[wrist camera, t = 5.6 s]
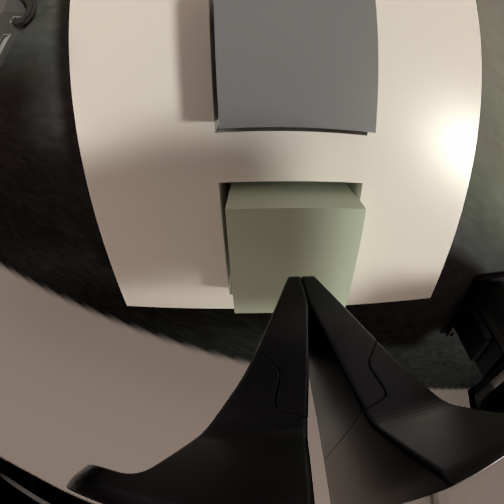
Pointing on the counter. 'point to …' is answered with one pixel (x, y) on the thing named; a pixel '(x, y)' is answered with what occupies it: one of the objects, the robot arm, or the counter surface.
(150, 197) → the three-button panel
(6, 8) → the walkie-talkie
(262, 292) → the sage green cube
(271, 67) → the charcoal key
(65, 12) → the counter surface
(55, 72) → the counter surface
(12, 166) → the counter surface
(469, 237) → the counter surface
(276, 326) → the robot arm
